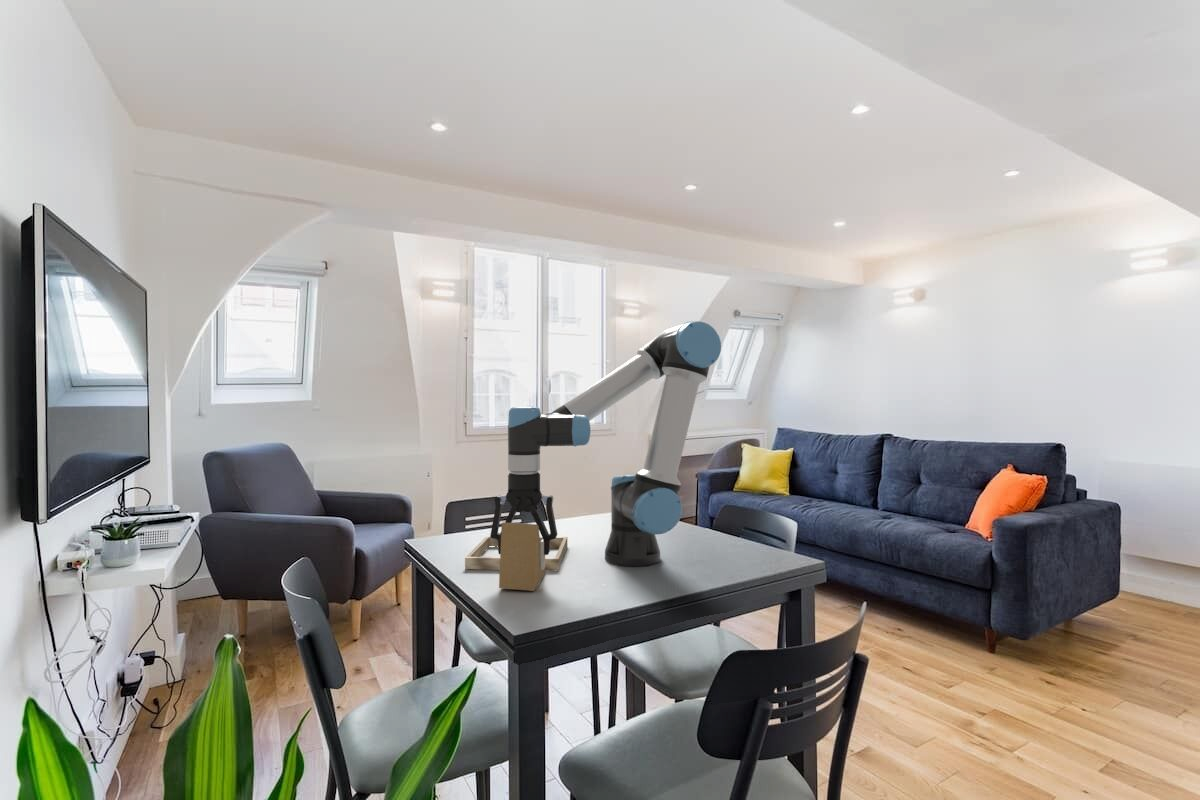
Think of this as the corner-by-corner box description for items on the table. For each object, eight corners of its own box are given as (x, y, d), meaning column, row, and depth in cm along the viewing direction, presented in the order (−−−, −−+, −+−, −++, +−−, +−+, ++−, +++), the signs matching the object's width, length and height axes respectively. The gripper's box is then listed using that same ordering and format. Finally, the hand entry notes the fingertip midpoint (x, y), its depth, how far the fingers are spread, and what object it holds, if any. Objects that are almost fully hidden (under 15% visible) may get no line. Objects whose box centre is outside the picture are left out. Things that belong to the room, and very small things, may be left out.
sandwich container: (546, 571, 148) (550, 511, 148) (535, 591, 133) (539, 524, 133) (513, 568, 149) (516, 509, 149) (497, 588, 134) (501, 522, 134)
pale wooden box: (567, 547, 174) (567, 537, 174) (558, 570, 150) (558, 559, 150) (486, 546, 175) (486, 536, 175) (465, 569, 151) (465, 557, 151)
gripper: (569, 470, 143) (569, 564, 143) (483, 469, 144) (483, 563, 144) (566, 474, 136) (566, 573, 136) (476, 473, 136) (476, 572, 136)
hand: (524, 568), depth 140 cm, fingers closed on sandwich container, 8 cm apart
